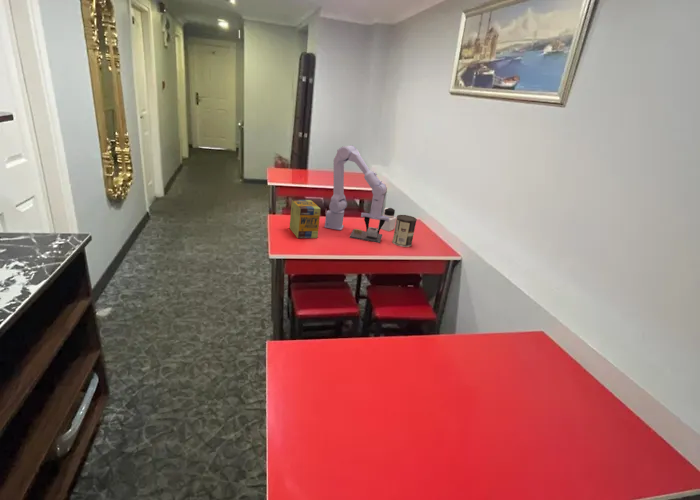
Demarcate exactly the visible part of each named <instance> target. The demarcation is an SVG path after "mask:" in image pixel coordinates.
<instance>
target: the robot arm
mask: <svg viewBox="0 0 700 500" xmlns="http://www.w3.org/2000/svg"><path fill="white" fill-rule="evenodd" d="M348 161H350V162H352V163H355V164H356V166H357V167H358V168H359V170H361V172H362V173H363V175H364V176H363V177H364V180H365V181H366V183H367V184H368V185H369V187H370V188H371V193H372V200H371V206H370V211H369V213H368V212H361V214H360V217H361V218H364V219H363V220H364V224H365V228H366V230H365V231H366V232H367V230H368V228H369V227H370V226H369V225H370V220H371V219H372V220H376V221H377V220H378V221H379V220H380V222H378V226H379V228H378V233H377V234H380V231H381V230H382V229H381V227H382V226H383V224H384V222H385V221H387V222H389V217H385V216H383V214H382V213H383V212H382V211H383V206H384V201H385V200H384V198H385V194H386V193H387V191H388V187H387V185H386V184H385V183H384V182H383V181H382V180H380V178H379V177H378V176H377V175H378V174H377V172H375V171H374V170H370V168H369V166H368V165H367V163H366V161H365V160H364V158H363V157H362V155H361V154H360V151H359V149H357V147H356V146H354V145H353V144H352V145H351V144H350V145H343V146H340V147H339V148H338V149H337V151H336V154H335V157H334V158H333V195H331V197H330V202H329V206H328V207H329V209H328V210H327V211H326V213H325V219H324V220H325V221H324V226H323V227H324V228H326V229H331V230H336V231H342V230H343V228H344V227H345V224H344V225H343V223H344V218H345V216H344V215H345V209H347V207H348V202H347V199H346V195H345V192H344V189H345V188H344V187H345V186H344V185H345V164H346V163H347V162H348Z"/></svg>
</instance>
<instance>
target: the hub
mask: <svg viewBox="0 0 700 500" xmlns="http://www.w3.org/2000/svg"><path fill="white" fill-rule="evenodd" d="M378 229H379V228H377V227H371V226H369V228H368V230H367V236H370V237H375V238H376V237H377V235H378V234H377V233H378Z"/></svg>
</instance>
